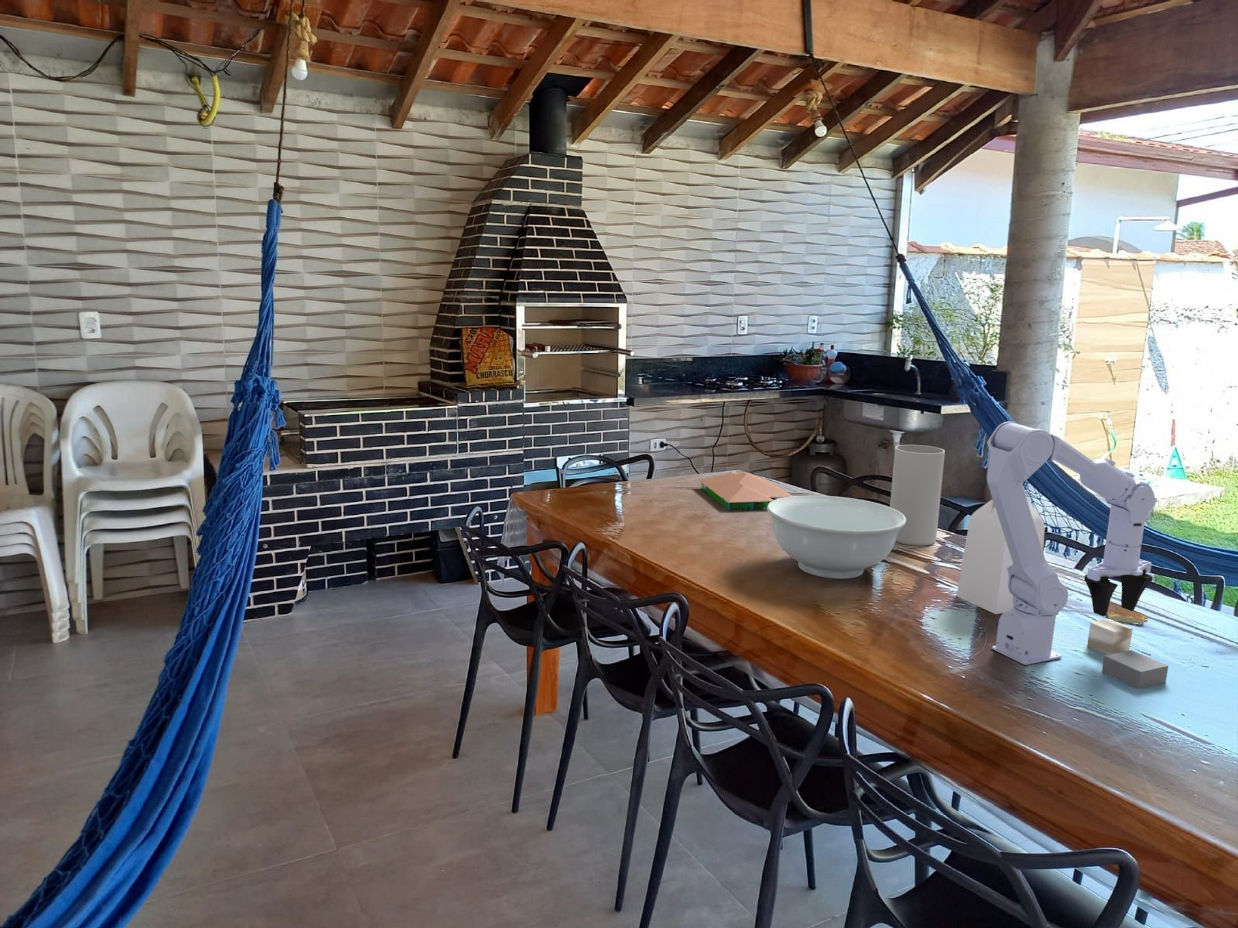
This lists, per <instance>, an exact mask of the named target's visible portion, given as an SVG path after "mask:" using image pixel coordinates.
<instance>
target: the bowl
mask: <svg viewBox="0 0 1238 928" xmlns="http://www.w3.org/2000/svg"><path fill="white" fill-rule="evenodd" d="M766 509H767V512H768V514H769V515H771V517H772V525H773V533H774V536H775V540H776V542H777V544H778V545H779V546H780V548H781V549H782V550H783V552H784V553H786V554H787V555H789V556H790V557H791V558H792V559H794V560H796V561H798V562H797V565H798V567H799V569H800V570H801V571H803V572H805V573H807V574H810V575H812V576H815V577H821V578H825V579H834V580H835V579H838V580H839V579H840V580H841V579H843V580H845V579H848V580H849V579H853V578H857V577H860V576H861V575H863V573H864V571H865V569H867V568H870V567H872V566H875V565H877V564H879V563H881V561H883V560H884V559H885V558H886V557H888V555H889V554H890V553H891V552H892V550H893V548H894V546H895V544H896V542H895V541H896V538H897V535H898V532H899V530H900V529H901V528H902V527H903V526H904V525H905V523H906V518H905V516H904V515H903V514H902V513H901V512H899V511H897V510H895V509H893V508H891V507H890V506H888V505H885V504H881V503H878V502H873V501H869V500H865V499H858V498H851V497H843V496H834V495H833V496H831V495H792V497H779V498H775V499H774V501H771V502H770V503H769V504H768V506H767V507H766Z"/></svg>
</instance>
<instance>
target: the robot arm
mask: <svg viewBox="0 0 1238 928" xmlns="http://www.w3.org/2000/svg"><path fill="white" fill-rule="evenodd" d="M987 447H988V449H989V450H988V451H989V458H988V466H987V473H986V480H987V486H988V489H989V492H990V495H991V498H992V499H993V502H994V505H995V508H996V511H997V514H998V518H999V521H1000V524H1001V527H1002V530H1003V533H1004V536H1005V540H1006V543H1007V546H1008V549H1009V552H1010V555H1011V558H1012V562H1013V563H1011V564H1010V565H1009V566H1008V567H1007V570H1008V574H1009V579H1008V589H1009V591H1010V593H1011V594H1012V595H1013V602H1014V605H1013V607H1012V609H1011V610H1010V611H1008V612H1005V613H1001V615H1000V616H999V620H998V623H997V624H998V625H997V633H996V634H997V635H996V640H995V645H992V646H991V649H992V650H994V651H995V652H997V653H1000V654H1002V655H1004V656H1006V657H1007V658H1009V659H1012V660H1013V661H1016V662H1018V663H1020V664H1022V665H1025V666H1027V665H1031V664H1037V663H1042V662H1046V661H1053V660H1056V659H1061V658H1062V657H1063V655H1062V654H1061V653H1058V652H1056V651H1054V650H1053V641H1054V634H1055V632H1054V631H1055V627H1056V626H1055V625H1056V618H1057V617H1056V616H1058V615H1059V612H1061V611H1062V610H1064V608H1065V606H1066V605H1067V602H1068V600H1069V593H1068V589H1067V587H1066V586H1065V585H1064V584H1063V583H1062V582H1061V581H1060V579H1059V577H1058V574H1057V572H1056V571H1055V570H1054V569H1053V567H1052V566H1051V565H1050V564H1049V562H1048V561H1047V560H1046V558H1045V554H1044V550H1043V551H1042V547H1041V544H1040V541H1039V538H1038V534H1037V531H1036V528H1035V525H1034V521H1033V518H1032V515H1031V511H1030V508H1029V505H1028V502H1027V499H1028V497H1027V494H1026V495H1025V493H1026V491H1025V492H1024V489H1025V488H1024V489H1023V486H1024V485H1023V484H1024V482H1025V481H1027V480H1028V479H1029V478H1030V477H1031V476H1032V475H1034V473H1036V472H1037V471H1038V469H1041V467H1042V466H1043V465H1044V464H1045V463H1046V462H1047V461H1048V462H1053V461H1055V462H1056V463H1058V464H1060V465H1061V466H1064V467H1065V468H1067V469H1068V470H1071V471H1072V472H1074V473H1076V474H1077V475H1079V481H1080V483H1081V484H1082V485H1083V486H1084V487H1085V488H1087V489H1089V490H1090V491H1092V492H1094V493H1095V494H1097V495H1099V496H1100V497H1102V498H1103V499H1104V500H1105V501H1106V503H1107V504H1108V505H1110V509H1109V510H1110V511H1109V518H1108V524H1107V530H1106V531H1107V532H1106V538H1105V545H1104V553H1103V561H1101V562H1100V563H1098V564H1096V565H1094V566H1092V567H1088V568H1087V569H1088V570H1087V574H1084V580H1083V581H1084V582H1085V584H1086V585H1087V588H1088V590H1089V593H1090V598H1091V603H1092V610H1093V613H1094V614H1096V615H1098V616H1100V617H1106V616H1107V611H1108V607H1109V603H1110V601H1111V599H1112V596H1113V594H1114V592H1115V591H1116V589H1117V588H1118V586H1119V585H1118V584H1117V583H1116V582H1115V583H1114V582H1111V580H1110V578H1113V577H1119V578H1120V582H1121V583H1120V584H1121V600H1120V603H1121V604H1120V605H1122V608H1125V609H1127V610H1130V611H1134V610H1135V609H1136V606H1137V605H1138V602H1139V600H1140V598H1141V596H1142V595H1143V593H1144V591H1145V590H1146V588H1147V587H1148V586H1149V585H1150V584H1151V583H1152V581H1153V578H1154V577H1153V575H1150V574H1149V573H1151V570H1152V562H1151V561H1149V560H1144V559H1140V555H1141V551H1142V550H1141V548H1142V543H1143V539H1144V538H1143V536H1144V529H1145V524H1146V522H1147V520H1149V514H1150V513H1151V510H1153V509H1154V507H1155V506H1156V503H1157V500H1158V498H1157V497H1155V496H1156V495H1155V492H1154V490H1153V488H1152V486H1151V485H1150V484H1147V483H1145V482H1142V481H1138V480H1135V479H1134V476H1135V475H1134V474H1133V473H1131V472H1128V471H1124V470H1121V469H1120V468H1118V467H1117V466H1115V465H1116V462H1115V460H1114V461H1113V460H1112V459H1110V458H1094V459H1090V458H1089V457H1088V456H1086V455H1085V454H1084V453H1082V452H1080V451H1079V450H1078V449H1076V448H1075V447H1073V445H1071V444H1069V443H1067V442H1066V441H1065V440H1063V439H1062V438H1061V437H1059V436H1057V435H1054V434H1052V433H1049V432H1048V431H1046V430H1044V429H1042V428H1041V429H1039V428H1038V429H1037V428H1032V427H1030V426H1026V425H1022V424H1019V423H1018V422H1014V421H1004V422H1002V423H1000V424H999V425H998V426H997V427H996V428H995V429H994V431H993V432H992V433H991V434H990V437H989V438H988V440H987ZM1026 497H1027V498H1026ZM992 499H991V500H992ZM1147 573H1148V574H1147Z"/></svg>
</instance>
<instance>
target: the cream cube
mask: <svg viewBox="0 0 1238 928" xmlns="http://www.w3.org/2000/svg"><path fill="white" fill-rule="evenodd" d="M1133 631H1134V630H1133V627H1130V626H1127V625H1125V624H1123V623H1121V622H1119V621H1113V620H1110V619H1108V618H1105V619H1101V620H1097V621H1091V622H1090V624H1089V631H1088V636H1087V637H1088V638H1087V644H1086V647H1087V648H1089V649H1092V650H1094V649H1095V650H1094V651H1096V652H1099V653H1101V654H1103V653H1104V655H1105V656H1106V655H1111V654H1115V653H1120V652H1125V651H1130V650H1131V649H1130V648H1131V643H1132V637H1133V636H1132V635H1133Z"/></svg>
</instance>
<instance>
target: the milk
mask: <svg viewBox="0 0 1238 928" xmlns="http://www.w3.org/2000/svg"><path fill="white" fill-rule="evenodd" d="M1023 489H1024V492H1025V495H1026V498H1027V502H1028V505H1029V508H1030V511H1031V515H1032V518H1033V521H1034V525H1035V528H1036V531H1037V534H1038V538H1039V541H1040V544H1041V547H1042V551H1043V552H1044V542H1045V541H1044V540H1045V530H1046V529H1045V522H1044V521H1043V519H1042V517H1041V515H1040V514H1039V513H1038V511H1037V510H1036V508H1035V507H1034V505H1032V503H1031V502H1030V500H1029V499H1028V497H1027V494H1026V493H1027V492H1026V489H1025V486H1024V485H1023ZM967 528H968V529H967V532H966V533H967V535H966V537H965V539H966V540H965V543H964V544H965V545H964V550H963V551H964V552H963V557H962V562H961V568H960V574H959V578H958V585H957V591H956V596H957V597H959V598H960V599H963V600H965V601H967V602H969V603H971V604H974V605H975V606H977V607H979V608H982V609H984V610H986V611H988V612H991V613H993V615H994V614H995V615H998V614H1004V613H1005V612H1008V611H1010V610H1011V609H1012V607H1013V605H1014V602H1013V595H1012V594H1011V593H1010V591H1009V589H1008V579H1009V574H1008V570H1007V567H1008V566H1009V565H1010V564H1011V563H1013V562H1012V558H1011V555H1010V552H1009V549H1008V546H1007V543H1006V540H1005V536H1004V533H1003V530H1002V527H1001V524H1000V521H999V518H998V514H997V511H996V508H995V505H994V502H993V499H990V500H989V501H988V502H986V503H985V504H983V505H981V506H980V507H979V508H978V509H976V510H975V511H973V513H972V514H971V516H970V517H969V523H968V527H967Z"/></svg>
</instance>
